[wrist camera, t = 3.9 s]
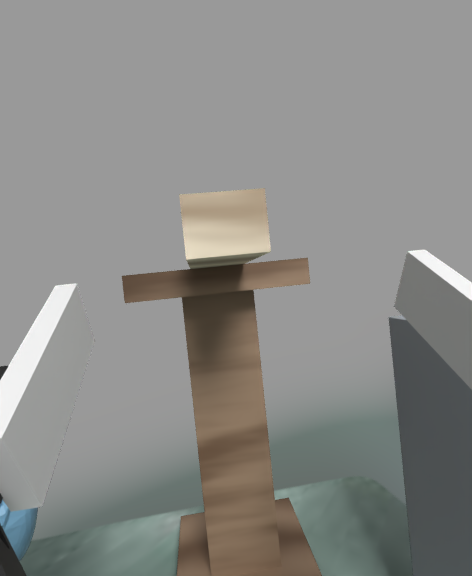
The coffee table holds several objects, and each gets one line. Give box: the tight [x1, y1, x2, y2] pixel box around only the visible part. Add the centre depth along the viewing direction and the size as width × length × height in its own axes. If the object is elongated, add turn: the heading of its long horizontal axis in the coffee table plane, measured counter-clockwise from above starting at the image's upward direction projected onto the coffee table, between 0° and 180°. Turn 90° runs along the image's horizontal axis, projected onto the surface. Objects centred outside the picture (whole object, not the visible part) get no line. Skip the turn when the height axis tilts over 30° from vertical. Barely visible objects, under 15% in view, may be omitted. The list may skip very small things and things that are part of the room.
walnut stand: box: [122, 258, 322, 576], centre depth 33 cm, size 12×14×28 cm
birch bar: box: [180, 188, 271, 269], centre depth 29 cm, size 26×4×3 cm, turn 6°
